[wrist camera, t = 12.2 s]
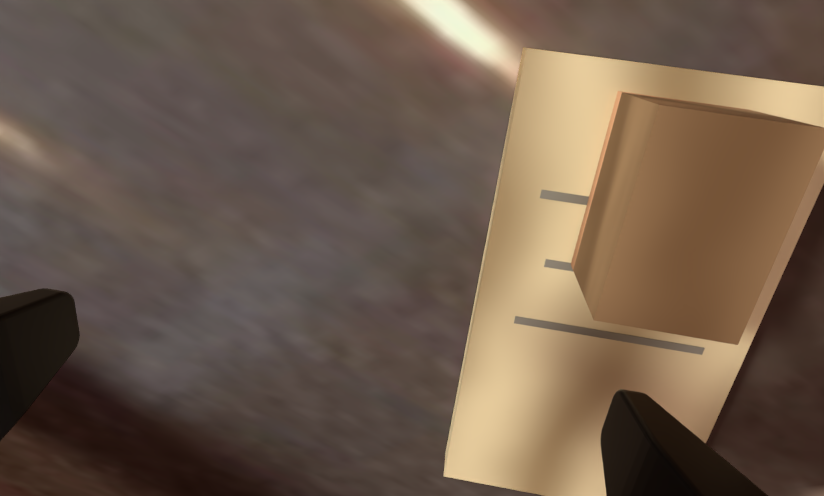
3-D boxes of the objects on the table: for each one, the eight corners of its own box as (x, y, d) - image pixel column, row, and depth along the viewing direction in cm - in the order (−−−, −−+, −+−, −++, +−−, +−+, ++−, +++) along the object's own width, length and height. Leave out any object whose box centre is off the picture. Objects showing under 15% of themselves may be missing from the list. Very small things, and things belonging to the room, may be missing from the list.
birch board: (445, 451, 24) (443, 477, 23) (523, 47, 17) (527, 48, 16) (659, 491, 24) (671, 520, 22) (833, 87, 16) (865, 92, 15)
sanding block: (570, 264, 18) (593, 320, 14) (617, 91, 16) (659, 104, 12) (685, 283, 18) (737, 345, 14) (749, 109, 16) (832, 129, 12)
